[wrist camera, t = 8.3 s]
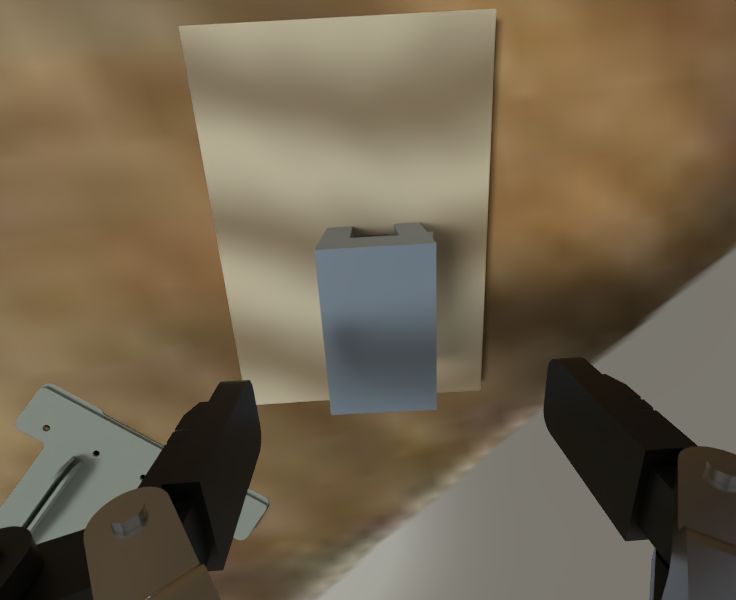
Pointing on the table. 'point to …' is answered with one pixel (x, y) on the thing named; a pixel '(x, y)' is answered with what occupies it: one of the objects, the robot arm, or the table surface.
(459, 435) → the table surface
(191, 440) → the robot arm
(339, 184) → the board
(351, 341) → the block
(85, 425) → the metal bracket
